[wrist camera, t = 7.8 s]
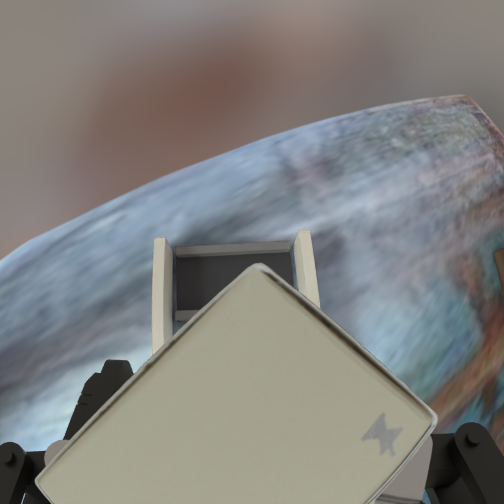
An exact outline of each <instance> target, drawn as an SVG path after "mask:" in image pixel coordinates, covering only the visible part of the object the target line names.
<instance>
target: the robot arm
mask: <svg viewBox="0 0 504 504" xmlns="http://www.w3.org/2000/svg"><path fill="white" fill-rule="evenodd" d="M133 375H134V374H133V371H132V368H131V366H130V363H129V362H128V361H127V360H110V359H108V360H106V362H105V364H104V366H103V369H102V371H101V373H94V374H93V375H92V376H91V377H90V378H89V379H88V380H87V381H86V383H85V385H84V388H83V390H82V392H81V396H80V397H79V400H78V405H76V407H75V410H74V412H73V415H72V417H71V420H70V423H69V425H68V428H67V431H66V433H65V436H64V438H63V440H59V441H56V442H54V443H52V444H51V445H50V446H49V447H48V449H47V450H46V451H33V452H25V451H24V450H23V449H22V448H21V447H20V446H19V445H18V444H16V443H14V442H6V443H4V444H2V445H0V504H21V502H22V499H23V496H24V493H25V497H24V500H23V503H22V504H51V502H50V501H49V500H48V499H47V498H46V497H45V496H44V495H43V493H42V492H41V491H40V490H39V488H38V487H37V486H36V483H35V478H36V477H37V476H38V475H39V474H40V473H41V471H42V470H43V469H44V468H45V467H46V466H47V465H48V464H49V462H50V461H51V460H52V459H53V458H54V457H55V455H56V454H58V453H59V452H60V451H61V449H62V448H63V447H64V446H65V445H66V444H67V442H68V441H69V440H70V439H71V438H72V437H73V436H74V435H75V434H76V433H77V432H78V431H79V430H80V429H81V428H82V427H83V426H84V424H85V423H86V422H87V421H88V420H89V419H90V418H91V417H92V416H93V415H94V414H95V413H96V412H97V411H98V410H99V409H100V408H101V407H102V406H103V405H104V404H105V403H106V402H107V401H108V400H109V399H110V398H111V397H112V396H113V395H114V394H115V393H116V392H117V391H118V390H119V389H120V388H121V387H122V385H123V384H124V383H125V382H126V381H127V380H128V379H130V378H131V377H132V376H133ZM424 489H425V490H426V492H427V495H428V497H429V499H430V501H431V504H504V457H503V455H502V453H501V452H500V450H499V448H498V447H497V445H496V444H495V442H494V440H493V439H492V437H491V436H490V434H489V433H488V431H487V430H486V429H485V428H484V427H483V426H482V425H480V424H478V423H474V422H469V423H465V424H463V425H461V426H460V427H459V428H458V430H457V431H456V432H455V433H450V434H430V435H429V436H428V438H427V439H426V440H425V441H424V443H423V444H422V445H421V447H420V448H419V450H418V451H417V452H416V454H415V455H414V456H413V457H412V459H411V460H410V461H409V462H408V463H407V465H406V466H405V467H404V468H403V469H402V471H401V472H400V473H399V474H398V475H397V476H396V478H395V479H394V480H393V481H392V482H391V483H390V484H389V485H388V487H387V488H386V489H385V490H384V491H383V492H382V493H381V494H380V495H379V496H378V498H377V499H376V500H375V501H374V502H373V503H372V504H425V503H423V502H422V497H423V493H424Z"/></svg>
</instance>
